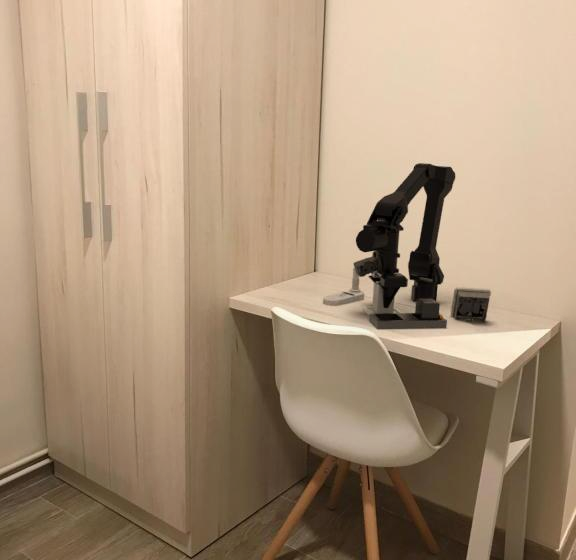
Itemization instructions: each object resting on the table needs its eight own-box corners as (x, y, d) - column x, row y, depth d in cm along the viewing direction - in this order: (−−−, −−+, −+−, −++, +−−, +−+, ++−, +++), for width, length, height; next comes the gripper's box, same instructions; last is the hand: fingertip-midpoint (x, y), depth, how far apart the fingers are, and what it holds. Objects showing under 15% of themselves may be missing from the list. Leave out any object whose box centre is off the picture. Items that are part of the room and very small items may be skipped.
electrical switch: (485, 319, 167) (489, 286, 164) (489, 326, 162) (493, 293, 159) (449, 317, 168) (453, 284, 165) (452, 324, 163) (456, 291, 160)
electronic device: (320, 272, 174) (355, 265, 184) (319, 306, 176) (353, 297, 186) (334, 276, 170) (369, 268, 180) (332, 310, 172) (367, 301, 182)
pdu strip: (435, 322, 162) (437, 296, 161) (446, 330, 156) (448, 303, 154) (368, 322, 159) (370, 297, 158) (377, 331, 153) (378, 304, 151)
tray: (393, 310, 172) (393, 306, 172) (403, 318, 164) (403, 313, 164) (362, 310, 171) (362, 306, 170) (370, 318, 163) (370, 314, 163)
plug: (387, 310, 170) (390, 280, 168) (393, 315, 166) (395, 284, 164) (372, 310, 169) (374, 280, 167) (376, 315, 165) (379, 284, 163)
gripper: (348, 242, 171) (345, 297, 175) (367, 254, 153) (363, 315, 157) (387, 242, 173) (383, 297, 176) (410, 254, 155) (405, 315, 159)
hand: (383, 305), depth 167 cm, fingers closed on plug, 4 cm apart
